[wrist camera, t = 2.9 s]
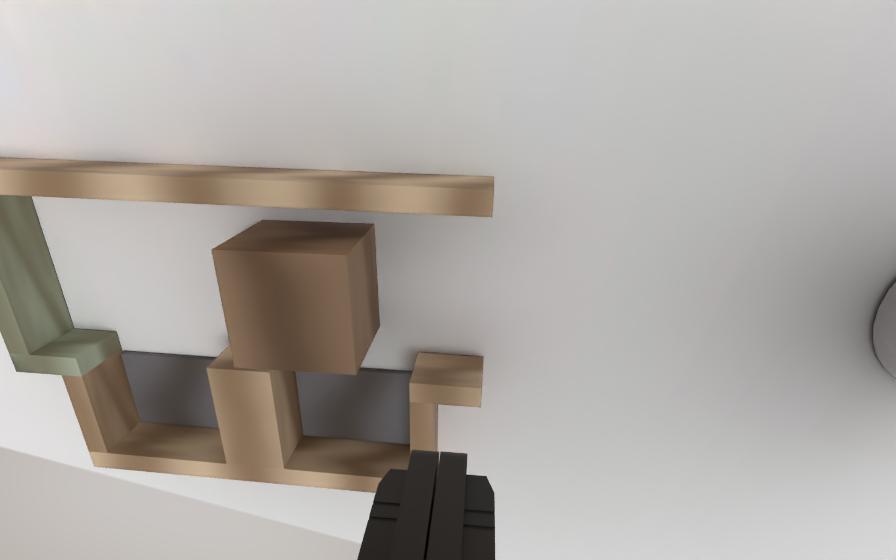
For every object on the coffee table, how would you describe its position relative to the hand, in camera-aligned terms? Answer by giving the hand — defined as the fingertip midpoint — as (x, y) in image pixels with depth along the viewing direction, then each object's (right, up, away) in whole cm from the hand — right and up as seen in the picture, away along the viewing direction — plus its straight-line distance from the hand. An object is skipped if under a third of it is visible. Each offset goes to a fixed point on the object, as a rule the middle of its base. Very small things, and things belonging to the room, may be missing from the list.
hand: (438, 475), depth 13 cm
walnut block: (-7, +6, +13) cm, 16 cm away
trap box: (-11, +3, +15) cm, 18 cm away
